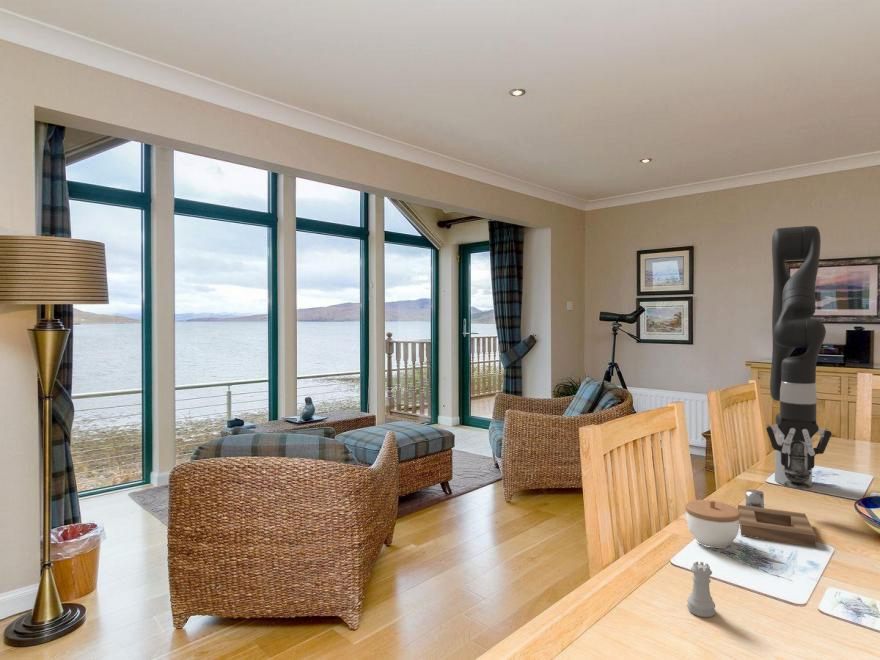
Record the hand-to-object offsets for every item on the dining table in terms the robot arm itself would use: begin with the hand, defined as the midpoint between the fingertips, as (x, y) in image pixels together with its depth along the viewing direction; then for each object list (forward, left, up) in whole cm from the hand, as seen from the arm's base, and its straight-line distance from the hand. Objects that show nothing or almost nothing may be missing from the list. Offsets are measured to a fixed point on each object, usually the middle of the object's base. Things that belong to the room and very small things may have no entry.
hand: (797, 468), depth 133 cm
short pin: (+1, -9, -12) cm, 15 cm away
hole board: (+12, -6, -12) cm, 18 cm away
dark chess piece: (0, 0, -5) cm, 5 cm away
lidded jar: (+26, -19, -12) cm, 35 cm away
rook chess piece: (+57, -21, -12) cm, 62 cm away
